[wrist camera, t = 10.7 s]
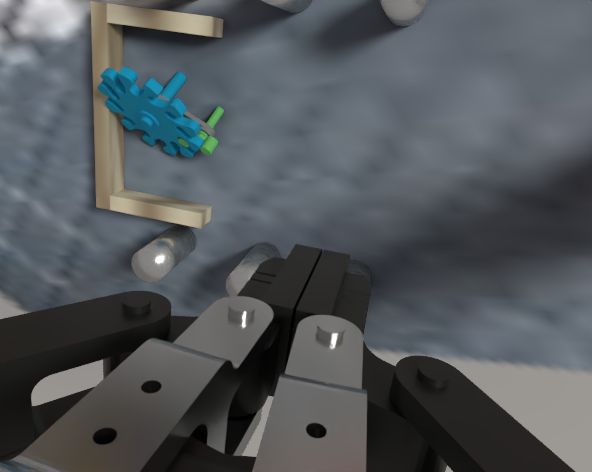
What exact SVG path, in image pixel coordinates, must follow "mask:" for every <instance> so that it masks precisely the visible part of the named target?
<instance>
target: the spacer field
mask: <svg viewBox="0 0 592 472" xmlns="http://www.w3.org/2000/svg"><path fill="white" fill-rule="evenodd" d="M192 1H195V0H192ZM261 1H263V2H265V3H268V4H270V5H273V6H275V7H278V8H280V9H283V10H285V11H288V12H290V13H299V12H302V11H304V10H305V9H306V8H307V7H308V6H309V5H310V4H311V2H312V0H261ZM427 1H428V0H380V2H381V5H382V8H383V9H384V11H385V13H386V15H387V17H388V19H389V20H390V21H391V22H392V23H394V24H395V25H398V26H410V25H412V24H414V23H416V22H417V21H418V20H419V19H420V18H421V17H422V15H423V13H424V11H425V8H426V5H427ZM195 247H196V238H195V235H194V233H193V232H192V231H191V230H190V229H189V228H187V227H185V226H182V225H177V226H174V227H172V228H171V229H169V230H168V231H166V232H165V233H163V234H162V235H161V236H159V237H158V238H156V239H155V240H153V241H152V242H150V243H149V244H148V245H146V246H145V247H143V248H142V249H140V250H139V251H138V252H136V253H135V254H134V255H133V257H132V261H131V265H132V269H133V271H134V273H135V274H136V276H137V277H138V278H139V279H141V280H143V281H145V282H148V283H154V282H157V281H159V280H160V279H161V278H162V277H163V276H165V275H166V274H167V273H168V272H169V271H170V270H172V269H173V268H174V267H175V266H176V265H177V264H178V263H180V262H181V261H182V260H183V259H184V258H185V257H186V256H188V255H189V254H190V253H191V252H192V251H193V250H194V249H195ZM273 257H277V258H281V256H280V253H279V251H278V249H277V248H276V247H275V246H273V245H272V244H269V243H258V244H256V245H255V246H254V247H253V248H252V249H251V250H250V251H249V253H248V254H247V255H246V256H245V257H244V259H243V260H242V261H241V262H240V263H239V264H238V266H237V267H236V268H235V269H234V270H233V271H232V273H231V274H230V275H229V276H228V278H227V280H226V291H227V293H228V295H229V296H230V297H231V296H237V295H238V294H239V292H240V291H241V290H242V288H243V287H244V286H245V284H246V283H247V281H248V280H250V277H251V276H252V275H253V273H255V271H256V269H257V268H258V267H259V265H260V264H261V263H262V262H264V261H266V260H269V259H271V258H273ZM347 272H349V273H354V274H359V275H363V276H366V277H367V279H368V281H369V282H370V281H371V273H370V271H369V269H368V267H367V266H366V265H364V264H363V263H361V262H358V261H349V266H348V271H347Z"/></svg>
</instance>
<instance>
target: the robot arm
mask: <svg viewBox="0 0 592 472" xmlns="http://www.w3.org/2000/svg"><path fill="white" fill-rule="evenodd" d="M349 260H350V255H348V254H343V253H338V252H333V251H328V250H324V251H323V253H322V249H318V248H313V247H308V246H303V245H298V244H296V245H295V247H294V248H293V250H292V251H291V253H290V255H289V256H288V258H287V259H281V258H277V257H273V258H271V259H269V260H266V261H264V262H262V263H261V264H260V265H259V267H258V268H257V269H256V271H255V273H253V275H252V276H251V277H250V280H248V281H247V283H246V284H245V286H244V287H243V288H242V290H241V291H240V292H239V294H238V295H237V296H231V297H226V298H222V299H219V300H217V301H215V302H214V303H213V304H212V305H211V306H210V307H209V308H208V309H207V310H206V311H205V312H204V313H203V314H202V315H201V316H200V317H185V316H171V303H170V302H169V300H168V299H167V298H165V297H164V296H162V295H160V294H157V293H153V292H148V291H130V292H124V293H119V294H115V295H110V296H106V297H101V298H96V299H92V300H87V301H83V302H78V303H73V304H69V305H64V306H60V307H55V308H50V309H46V310H41V311H36V312H32V313H27V314H23V315H18V316H13V317H9V318H4V319H0V472H445V470H446V467H447V465H448V466H449V467H450V468H451V470H452V471H453V472H575V471H574V470H573V469H572V468H570V467H569V466H568V465H567V464H566V463H565V462H563V461H562V460H561V459H560V458H559V457H558V456H557V455H555V454H554V453H553V452H552V451H551V450H550V449H549V448H547V447H546V446H545V445H544V444H543V443H542V442H540V441H539V440H538V439H537V438H536V437H535V436H534V435H532V434H531V433H530V432H529V431H528V430H527V429H525V428H524V427H523V426H522V425H521V424H520V423H518V422H517V421H516V420H515V419H514V418H513V417H512V416H511V415H509V414H508V413H507V412H506V411H505V410H504V409H502V408H501V407H500V406H499V405H498V404H497V403H496V402H494V401H493V400H492V399H491V398H490V397H489V396H487V395H486V394H485V393H484V392H483V391H482V390H481V389H479V388H478V387H477V386H476V385H475V384H474V383H473V382H471V381H470V380H469V379H468V378H467V377H466V376H465V375H463V374H462V373H461V372H460V371H459V370H457V369H456V368H454V367H453V366H451V365H450V364H448V363H446V362H444V361H441V360H439V359H435V358H432V357H427V356H409V357H406V358H403V359H401V360H400V361H399V362H398V363H397V365H396V366H393V365H391V364H389V363H387V362H385V361H383V360H381V359H380V358H378V357H376V356H375V355H374V354H373V353H372V352H371V351H370V350H369V349H368V348H367V347H366V345H365V343H364V340H363V334H364V328H365V322H366V317H367V311H368V305H369V299H370V294H371V288H372V285H371V284H370V282H369V281H368V279H367V277H366V276H363V275H359V274H354V273H349V272H347V271H348V266H349ZM102 359H103V372H104V379H103V380H102V381H101V382H100V383H99V384H98V385H97V386H96V387H93V388H90V389H87V390H84V391H81V392H77V393H75V394H71V395H69V396H66V397H63V398H59V399H56V400H53V401H50V402H47V403H44V404H41V405H38V406H32V405H31V404H32V403H31V393H32V390H33V388H34V387H35V385H36V384H37V383H38V382H39V381H40V380H42V379H43V378H45V377H47V376H49V375H52V374H55V373H58V372H61V371H65V370H68V369H72V368H75V367H79V366H82V365H85V364H89V363H92V362H95V361H99V360H102ZM268 395H269V396H273V397H274V398H273V401H272V405H271V408H270V412H269V416H268V419H267V422H266V426H265V429H264V433H263V436H262V440H261V443H260V447H259V450H258V453H257V457H248V456H242V454H243V452H244V450H245V448H246V446H247V444H248V443H249V441H250V439H251V437H252V435H253V433H254V431H255V430H256V428H257V426H258V424H259V422H260V420H261V412H262V407H263V405H264V404H265V402H266V399H267V397H268Z"/></svg>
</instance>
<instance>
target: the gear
mask: <svg viewBox="0 0 592 472" xmlns="http://www.w3.org/2000/svg"><path fill="white" fill-rule="evenodd" d="M100 76H101V78H102V79H103V81H102V82H101V83H100V84H99V85H98V88H97V89H98V90H99V91H100V92H101V93H103V94H104V95H106V96H108V98H107V100H106V101H105V104H106V106H107V108H108V109H109V110H111V111H113V112H117V113H120V114H122V115H124V117H123V119H122V120H121V122H122V123H123V125H124V126H125V127H126V128H127V129H129V130H133V129H140V130H143V131H145V134H144V135H143V136H142V139H143V140H144V141H146V142H147V143H148V144H150V145H151V146H154V145H155V143H156V142H157V141H158V139H161V140H162V141H164V142H165V143H166V144H165V146H164V147H163V149H164V151H165V152H167V153H169V154H171V155H173V156H175V155H176V154H177V152H178V151H179V149H180V152H181V154H182V155H183V156H186V157H193V155H194V154H195V152H196V151H198V150H199V149H200V150H201V151H202V152H203V153H204V154H206V155H211V153H212V152H213V150H214V149H215V147H216V146H217V144H218V141H217V140H216V139H215V138H214V137H213V136H214V135H215V131H214V129H213V127H214V126H215V124H216V123H217V121H218V120H219V118H220V117H221V116H222V114H223V113H224V110H223V109H222V108H221V107H217V108H216V110H215V111H214V112H213V114H212V115H211V117H210V118H209V120H208V121H207V122H206V123H205V122H203V121H202V120H200V119H199V118H197V117H196V116H194V115H192V114H191V113H189V112H188V111H186V110H187V108H186V106H185V105H184V104H183V102H182V101H181V100H180V99H178V98H174V99H173V100H172V98H173V97H174V96H175V94H176V93H177V92H178V90H179V89H180V88H181V86H182V85H183V84H184V83H185V81H186V80H187V78H186V76H185V75H184V74H183V73H181V72H177V73H176V74H175V76H174V77H173V78H172V80H171V81H170V82H169V83H168V85H167V86H166V87H165V89H164V90H163V87H162V86H161V85H160V84H159V83H158V82H157V81H155V80H154V79H152V78H149V79H148V81H147V82H146V83H145V84H144V86H143V89H141V88H139V87H138V86H137V85H136V84H135V81H136V80H137V79H138V75H137V73H136V72H134V71H133V70H131V69H129V68H127V67H123V68H122V69H121V70H120V72H119V73H118V72H117V71H116V70H115V69H113V68H107V69H105V71H104V72H103V73H102V74H101V75H100ZM160 93H161V94H160ZM177 144H178V145H179V146H178V145H177Z"/></svg>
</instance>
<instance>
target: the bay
mask: <svg viewBox="0 0 592 472" xmlns="http://www.w3.org/2000/svg"><path fill="white" fill-rule="evenodd" d="M223 20H224V19H220V18H216V17H210V16H203V15H195V14H187V13H179V12H171V11H164V10H156V9H148V8H140V7H132V6H124V5H117V4H109V3H101V2H93V1H91V30H92V66H93V103H94V139H95V175H96V207H98V208H103V209H108V210H113V211H117V212H122V213H127V214H132V215H137V216H142V217H147V218H152V219H157V220H162V221H167V222H171V223H176V224H181V225H186V226H191V227H196V228H202V227H203V226H204V225H206V224H207V223H208V222H209V221H211V207H212V206H207V205H202V204H197V203H192V202H187V201H182V200H177V199H172V198H166V197H161V196H156V195H151V194H146V193H141V192H136V191H131V190H125V189H124V125H123V123H122V122H121V120H122V119H123V117H124V115H122V114H120V113H117V112H113V111H111V110H109V109H108V108H107V106H106V104H105V101H106V100H107V98H108V96H106V95H104V94H103V93H101V92H100V91H99V90H98V89H97V88H98V85H99V84H100V83H101V82H102V81H103V79H102V78H101V76H100V75H101V74H102V73H103V72H104V71H105V69H107V68H113V69H115V70H116V71H117V72H118V73H119V72H120V70H121V69H122V68H123V25H129V26H137V27H144V28H151V29H159V30H166V31H174V32H181V33H189V34H196V35H203V36H211V37H219V38H222V35H223Z"/></svg>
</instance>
